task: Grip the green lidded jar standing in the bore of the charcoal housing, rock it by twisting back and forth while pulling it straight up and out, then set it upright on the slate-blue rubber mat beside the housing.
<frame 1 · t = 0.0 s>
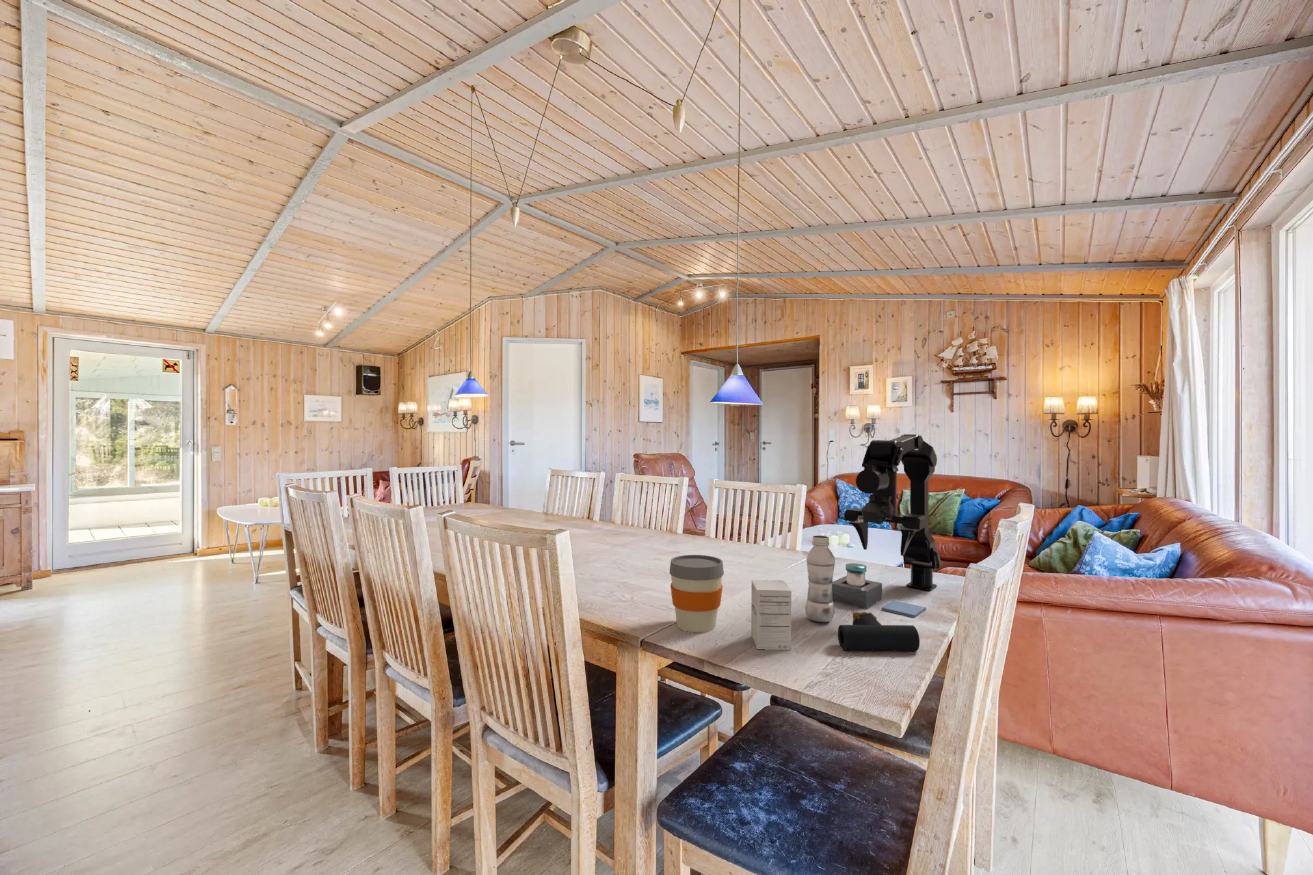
hand: (883, 552, 135), 15 cm above the table, tool pointing down, fingers open, 9 cm apart
pipe connector: (871, 644, 116), on the table
plastic bottle: (819, 621, 129), on the table
housing: (855, 599, 144), on the table
green lidded jar: (855, 582, 144), in the housing
reusable coffee cup: (696, 626, 125), on the table
supplement box: (770, 644, 115), on the table
mat: (903, 609, 136), on the table
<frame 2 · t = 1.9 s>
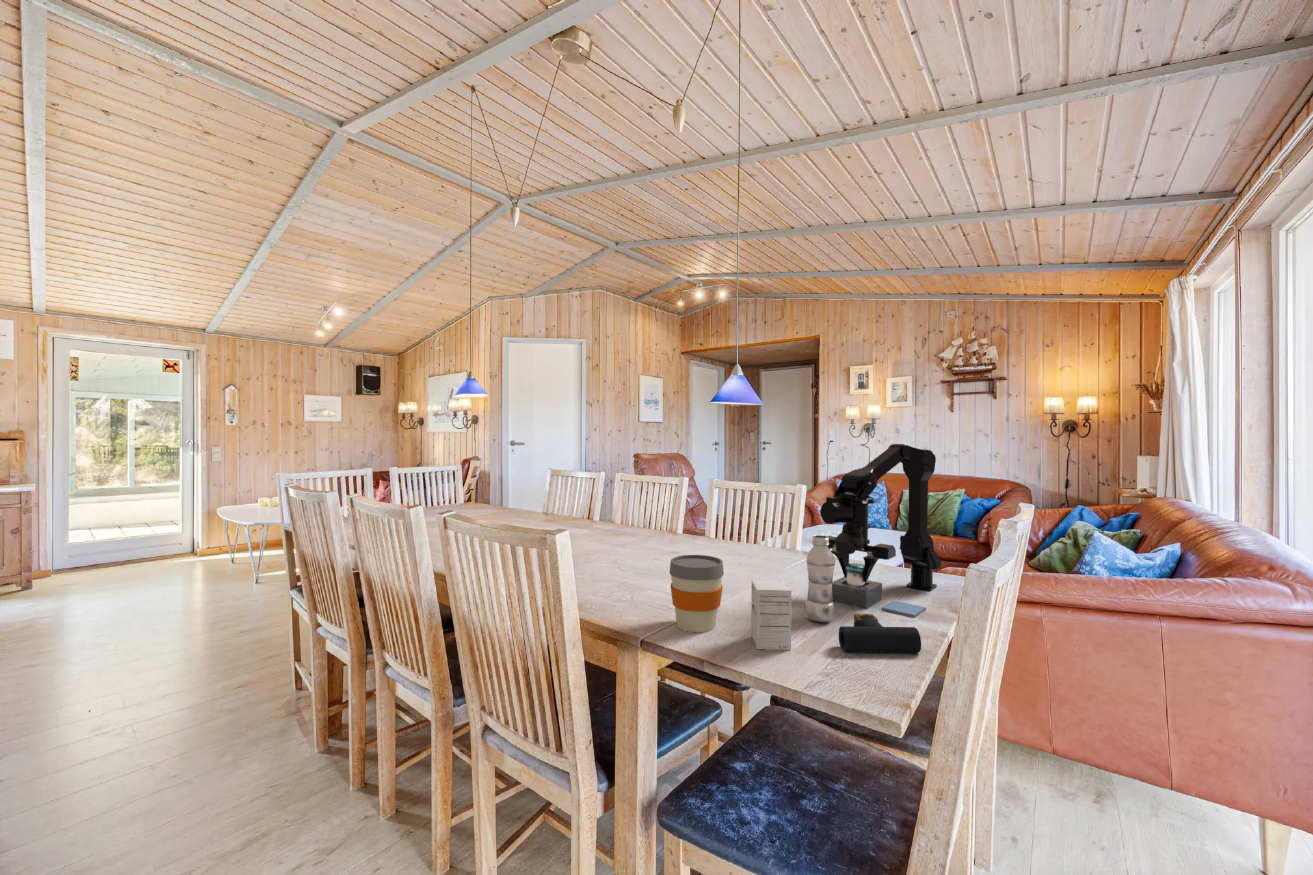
hand: (855, 579, 144), 6 cm above the table, tool pointing down, fingers closed on green lidded jar, 5 cm apart
green lidded jar: (855, 582, 144), in the housing, touching gripper
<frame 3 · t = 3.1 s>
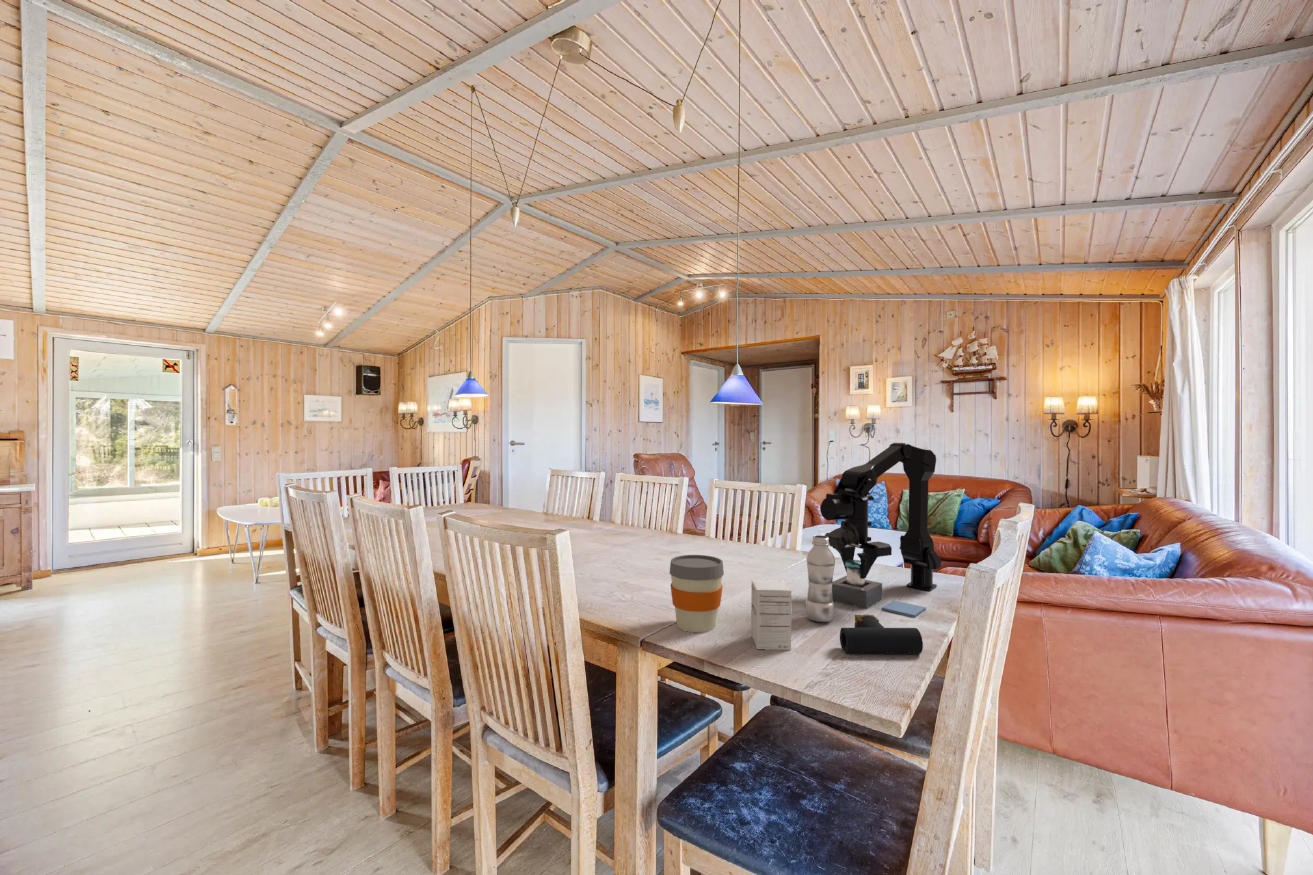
hand: (855, 575, 144), 6 cm above the table, tool pointing down, fingers closed on green lidded jar, 5 cm apart
green lidded jar: (855, 579, 144), in the housing, point 6 cm above the table, touching gripper
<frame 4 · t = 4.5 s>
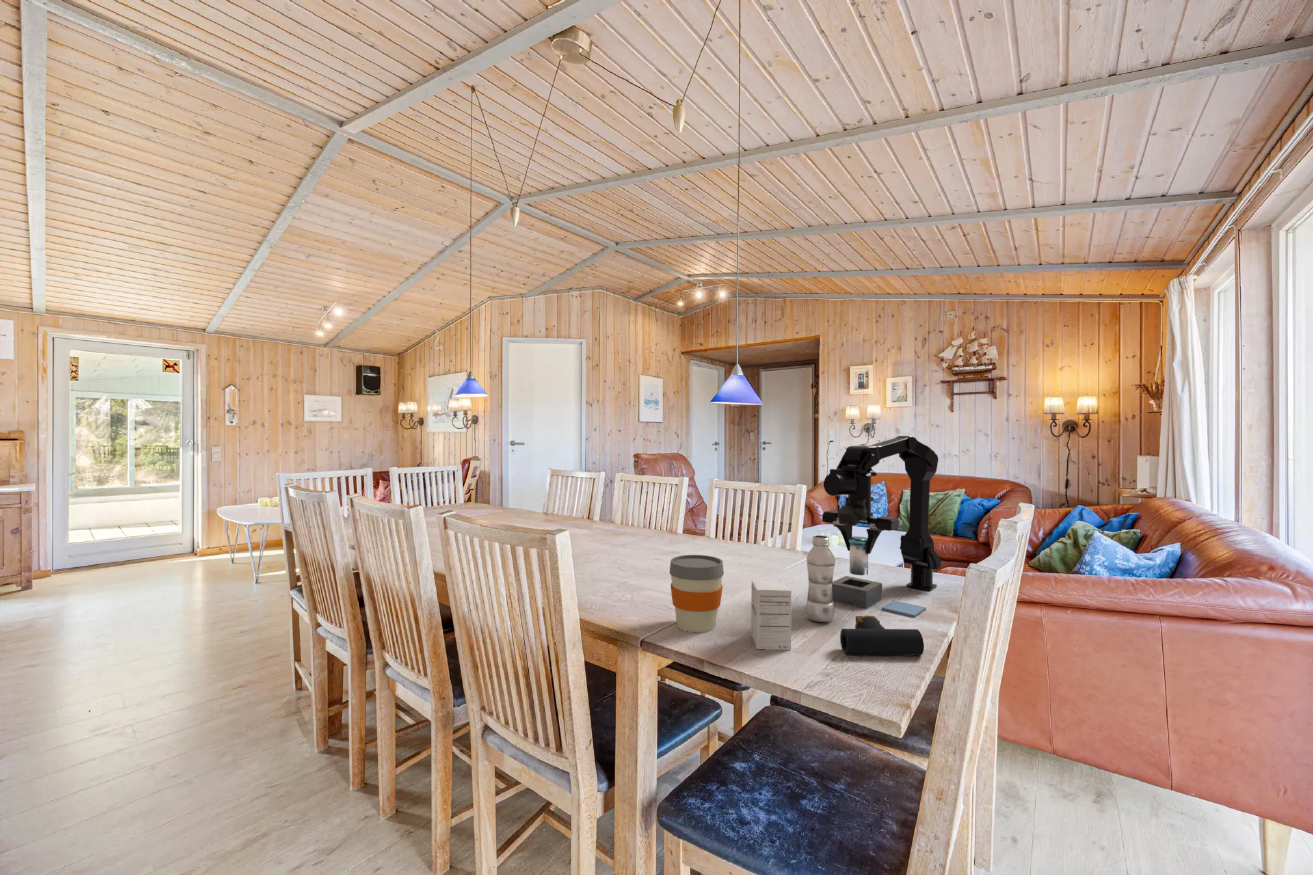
hand: (858, 552, 143), 13 cm above the table, tool pointing down, fingers closed on green lidded jar, 5 cm apart
green lidded jar: (858, 555, 143), point 12 cm above the table, touching gripper
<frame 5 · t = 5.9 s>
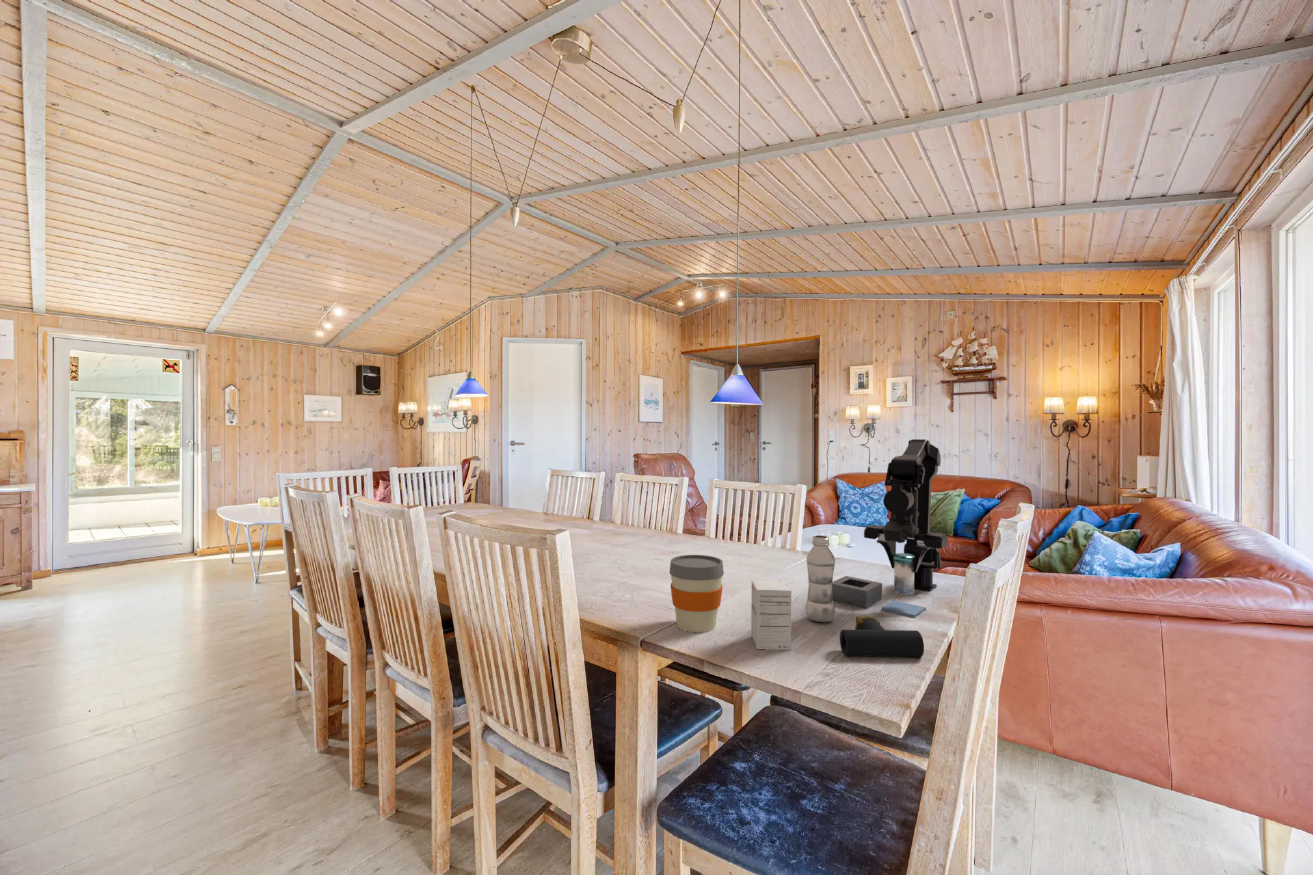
hand: (904, 570, 136), 10 cm above the table, tool pointing down, fingers closed on green lidded jar, 5 cm apart
green lidded jar: (904, 573, 136), point 9 cm above the table, touching gripper
when the fingers open (7 cm above the table, at t = 7.3 s): green lidded jar drops 1 cm, resting on mat.
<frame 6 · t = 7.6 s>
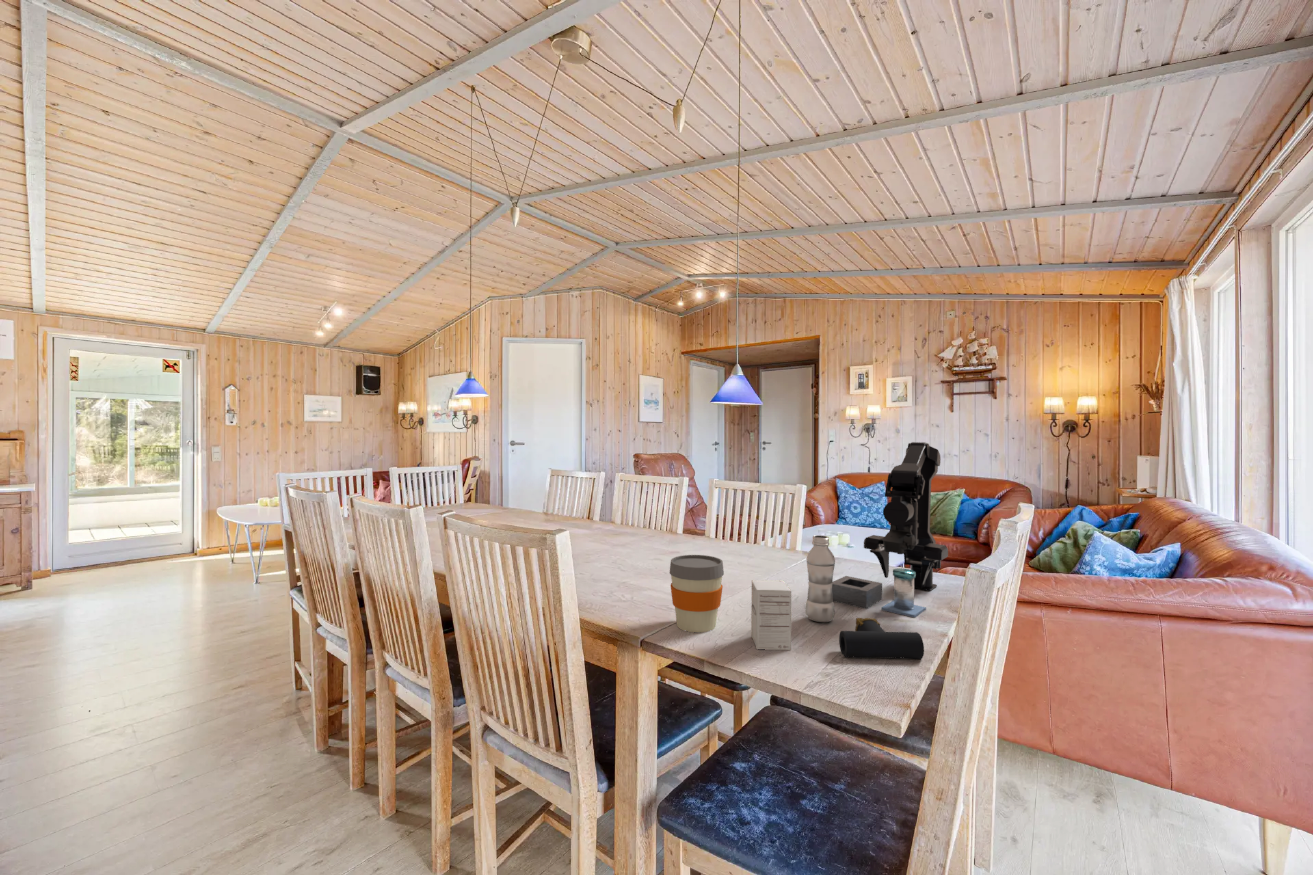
hand: (904, 580, 136), 7 cm above the table, tool pointing down, fingers open, 8 cm apart
green lidded jar: (903, 589, 136), on the mat, point 5 cm above the table
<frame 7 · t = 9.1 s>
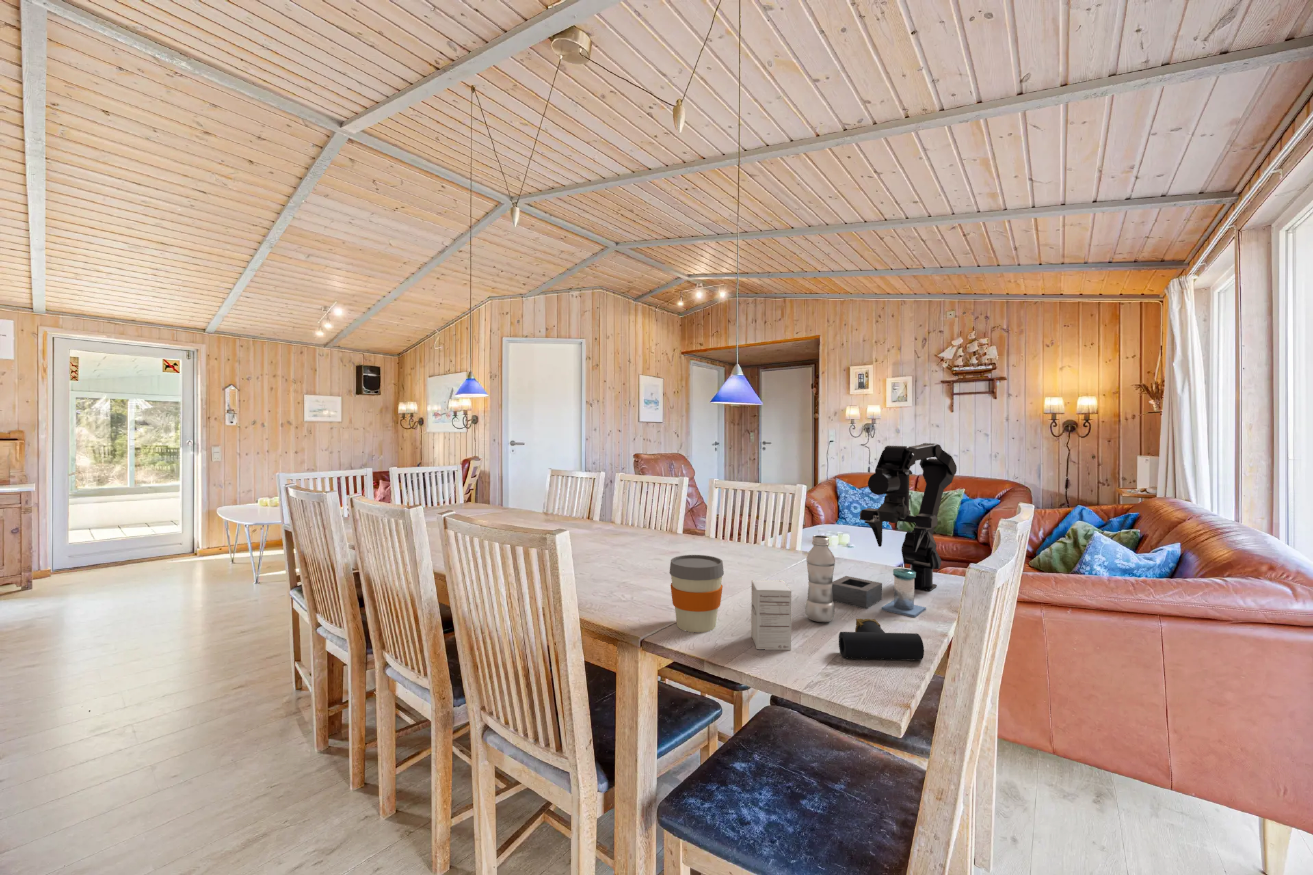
hand: (897, 549, 147), 13 cm above the table, tool pointing down, fingers open, 9 cm apart
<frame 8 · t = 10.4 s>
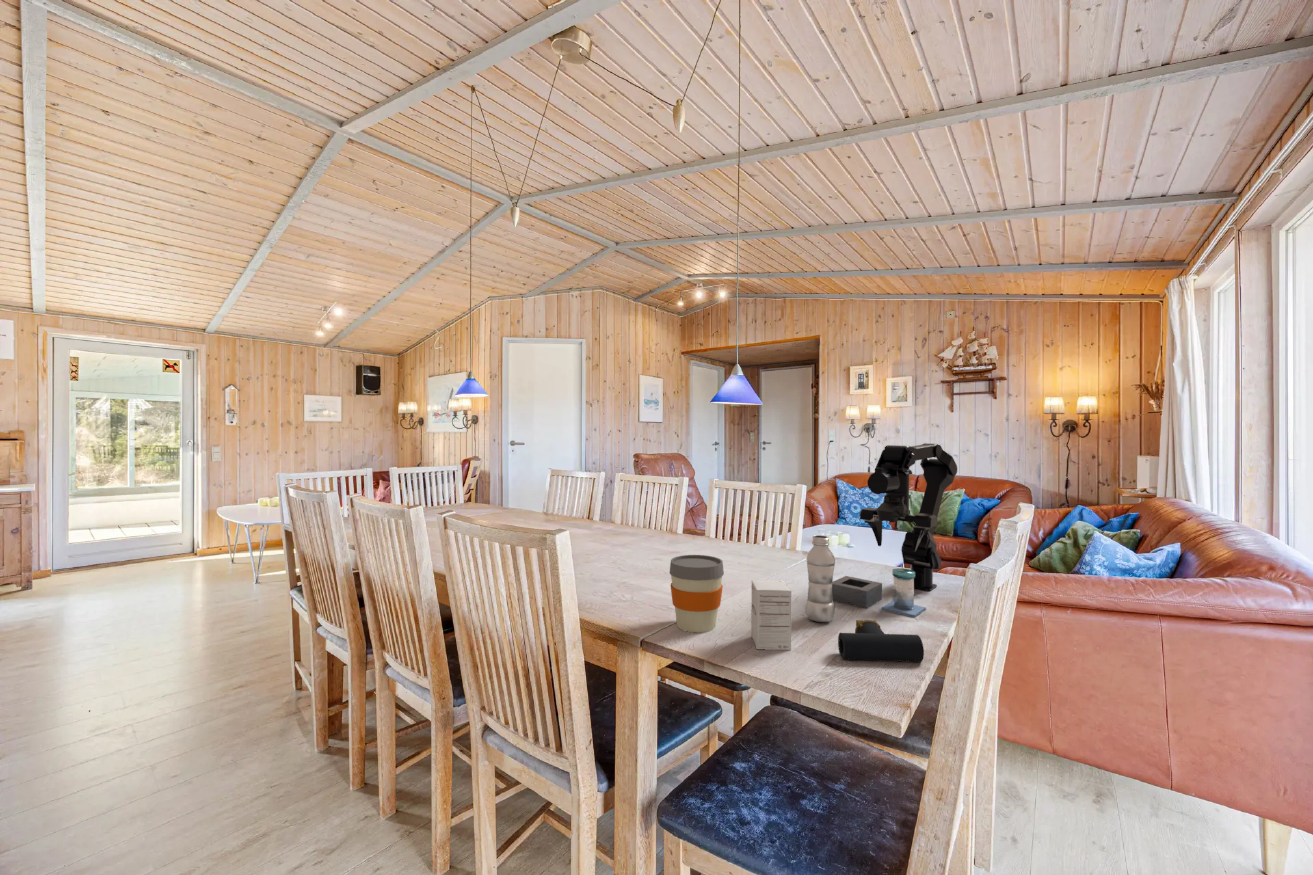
hand: (896, 548, 147), 13 cm above the table, tool pointing down, fingers open, 9 cm apart
at the end: green lidded jar 0.0 cm off-centre on the mat, point 5.2 cm above the mat's base; green lidded jar tilted 1°; green lidded jar touching mat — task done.
